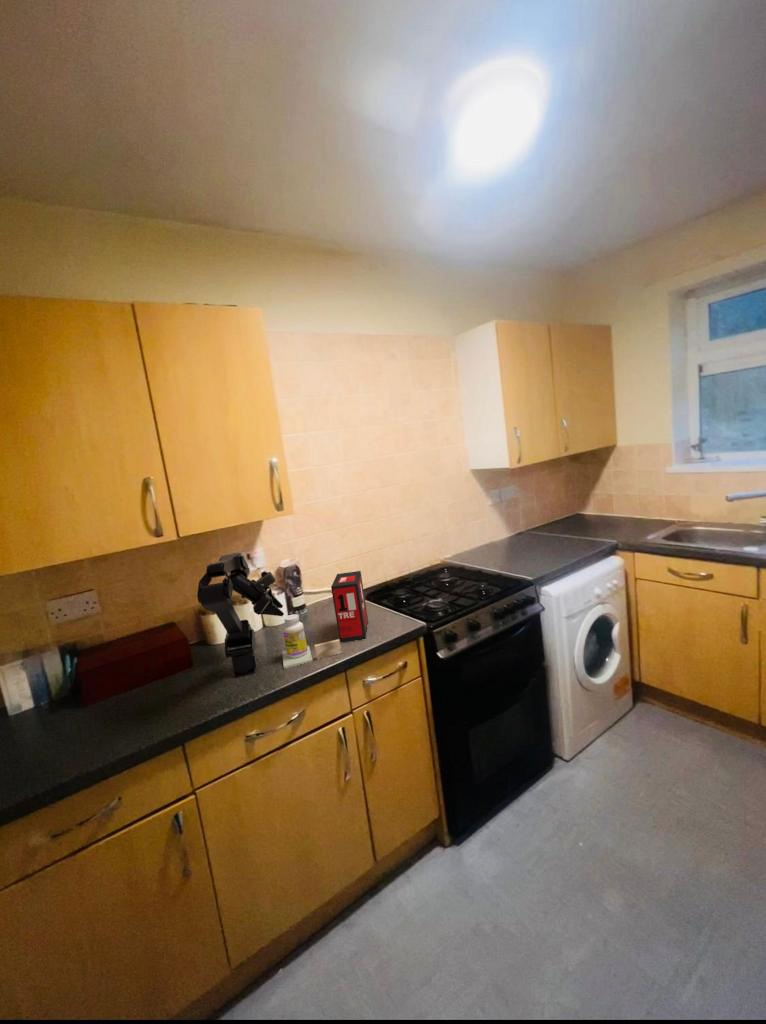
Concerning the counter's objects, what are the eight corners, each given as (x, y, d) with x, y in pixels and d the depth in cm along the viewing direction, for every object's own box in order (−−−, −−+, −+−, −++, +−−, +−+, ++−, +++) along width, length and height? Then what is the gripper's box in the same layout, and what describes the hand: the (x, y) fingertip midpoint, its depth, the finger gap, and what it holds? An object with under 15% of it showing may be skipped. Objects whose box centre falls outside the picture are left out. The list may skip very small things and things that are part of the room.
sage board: (284, 669, 137) (283, 666, 137) (282, 653, 149) (282, 651, 149) (312, 661, 139) (312, 659, 139) (309, 647, 151) (308, 645, 151)
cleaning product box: (345, 624, 168) (337, 573, 165) (368, 621, 167) (360, 570, 165) (340, 642, 151) (331, 586, 149) (365, 639, 151) (357, 583, 149)
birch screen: (317, 659, 140) (315, 646, 140) (316, 658, 142) (314, 645, 141) (341, 653, 142) (339, 640, 142) (341, 652, 144) (339, 639, 143)
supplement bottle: (283, 657, 144) (276, 620, 142) (296, 648, 149) (289, 612, 148) (299, 659, 140) (292, 621, 139) (312, 650, 146) (305, 613, 145)
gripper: (257, 572, 139) (298, 598, 143) (258, 561, 157) (295, 585, 161) (236, 601, 138) (278, 627, 142) (239, 587, 156) (276, 610, 160)
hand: (282, 610), depth 151 cm, fingers open, 9 cm apart
